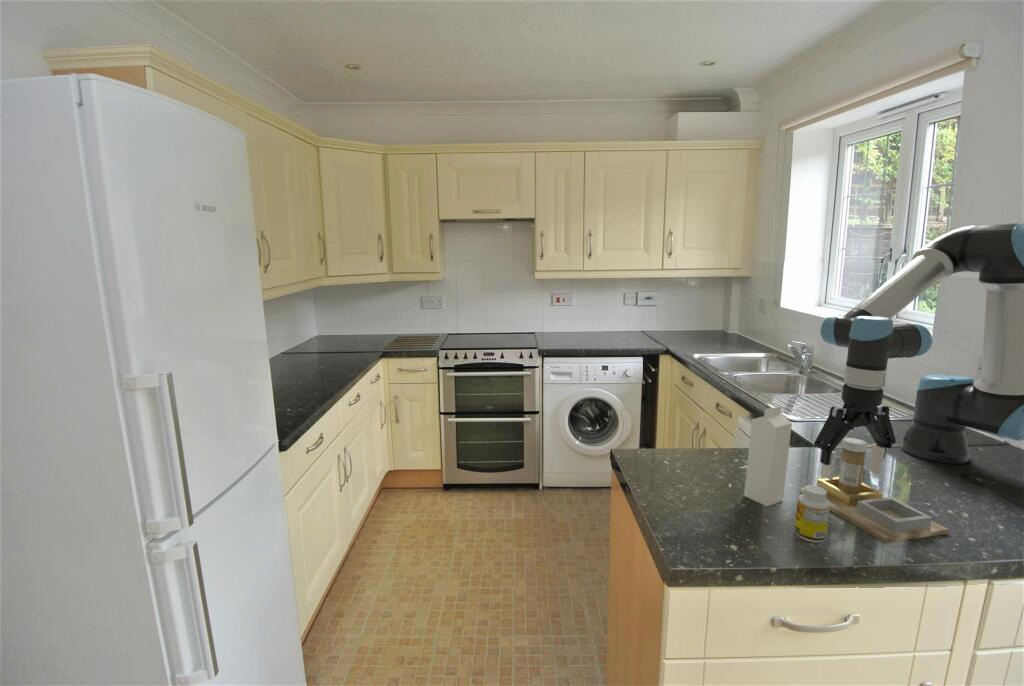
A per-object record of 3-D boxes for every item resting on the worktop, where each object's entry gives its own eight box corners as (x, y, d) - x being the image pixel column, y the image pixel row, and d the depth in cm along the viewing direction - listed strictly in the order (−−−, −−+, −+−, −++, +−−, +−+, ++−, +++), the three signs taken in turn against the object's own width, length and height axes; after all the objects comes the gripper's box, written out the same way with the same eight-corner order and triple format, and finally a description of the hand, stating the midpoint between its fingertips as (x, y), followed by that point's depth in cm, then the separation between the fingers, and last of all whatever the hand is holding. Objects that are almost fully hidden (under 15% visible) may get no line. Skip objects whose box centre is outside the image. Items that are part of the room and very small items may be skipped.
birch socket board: (855, 486, 126) (855, 482, 126) (947, 533, 105) (948, 529, 105) (800, 492, 122) (800, 488, 122) (884, 542, 101) (885, 538, 101)
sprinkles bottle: (863, 497, 118) (871, 442, 116) (854, 502, 116) (862, 445, 113) (841, 489, 122) (849, 435, 119) (832, 494, 119) (839, 439, 117)
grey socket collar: (889, 507, 113) (891, 496, 113) (930, 528, 105) (932, 517, 104) (856, 511, 111) (857, 500, 111) (894, 533, 103) (896, 522, 102)
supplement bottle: (797, 526, 107) (802, 480, 105) (827, 535, 103) (834, 488, 102) (791, 537, 103) (796, 489, 101) (822, 547, 99) (829, 498, 97)
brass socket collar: (847, 485, 124) (848, 475, 123) (881, 503, 115) (882, 492, 115) (816, 488, 122) (817, 479, 122) (848, 507, 113) (849, 496, 113)
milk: (783, 501, 118) (794, 409, 114) (766, 507, 115) (777, 413, 111) (759, 490, 123) (769, 402, 119) (743, 495, 120) (752, 406, 116)
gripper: (892, 379, 120) (879, 463, 124) (803, 383, 115) (792, 472, 119) (924, 387, 113) (909, 477, 117) (830, 392, 108) (818, 486, 111)
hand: (850, 474), depth 118 cm, fingers open, 13 cm apart
